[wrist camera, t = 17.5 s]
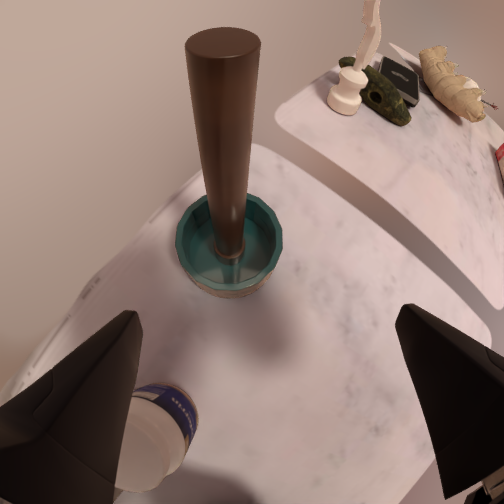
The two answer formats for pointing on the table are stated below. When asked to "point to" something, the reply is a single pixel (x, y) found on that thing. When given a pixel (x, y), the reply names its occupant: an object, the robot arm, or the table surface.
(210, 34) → the stick
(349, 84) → the decorative finial
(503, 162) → the ink box
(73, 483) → the robot arm
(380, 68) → the external hard drive
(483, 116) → the model
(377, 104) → the decorative stone
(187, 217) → the bowl
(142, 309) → the table surface
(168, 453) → the pill bottle
